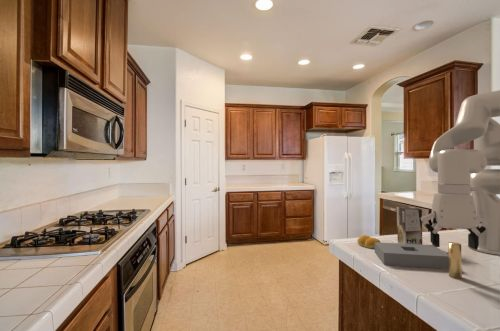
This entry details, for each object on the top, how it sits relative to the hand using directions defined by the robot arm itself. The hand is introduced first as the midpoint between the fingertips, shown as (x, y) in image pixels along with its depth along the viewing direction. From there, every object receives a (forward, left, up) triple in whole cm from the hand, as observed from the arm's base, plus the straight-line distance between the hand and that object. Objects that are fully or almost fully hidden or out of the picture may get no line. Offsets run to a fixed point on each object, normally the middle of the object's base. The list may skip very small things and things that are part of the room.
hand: (454, 247), depth 74 cm
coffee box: (+2, -29, -9) cm, 31 cm away
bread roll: (+18, -28, -10) cm, 34 cm away
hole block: (+8, -12, -9) cm, 17 cm away
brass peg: (0, 0, -9) cm, 9 cm away
